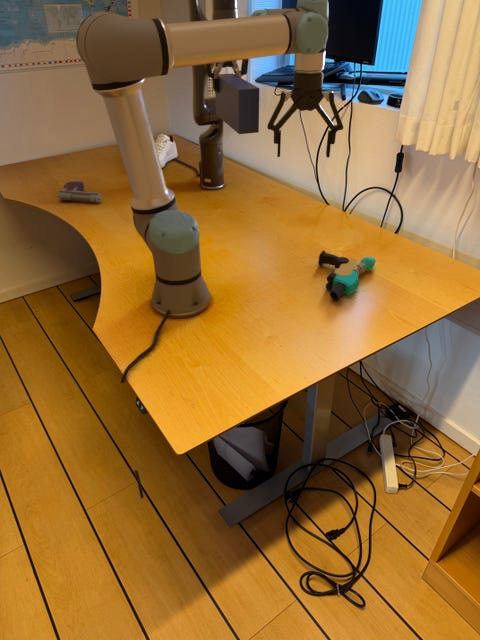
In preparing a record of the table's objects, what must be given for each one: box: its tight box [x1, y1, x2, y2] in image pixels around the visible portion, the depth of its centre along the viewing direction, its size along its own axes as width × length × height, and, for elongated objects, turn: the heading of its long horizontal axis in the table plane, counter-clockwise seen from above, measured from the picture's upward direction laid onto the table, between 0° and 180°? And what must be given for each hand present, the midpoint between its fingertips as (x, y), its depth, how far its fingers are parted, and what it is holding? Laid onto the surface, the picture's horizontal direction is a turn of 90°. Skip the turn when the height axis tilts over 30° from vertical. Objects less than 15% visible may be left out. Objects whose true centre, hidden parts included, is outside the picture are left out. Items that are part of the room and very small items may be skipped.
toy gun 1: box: [56, 180, 103, 204], centre depth 185 cm, size 4×19×15 cm
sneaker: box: [154, 133, 179, 168], centre depth 214 cm, size 10×29×12 cm, turn 163°
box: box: [214, 72, 260, 135], centre depth 140 cm, size 24×6×12 cm, turn 18°
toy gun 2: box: [318, 250, 376, 303], centre depth 132 cm, size 4×26×15 cm
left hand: (303, 155), depth 133 cm, fingers open, 13 cm apart
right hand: (226, 91), depth 146 cm, fingers closed on box, 6 cm apart
